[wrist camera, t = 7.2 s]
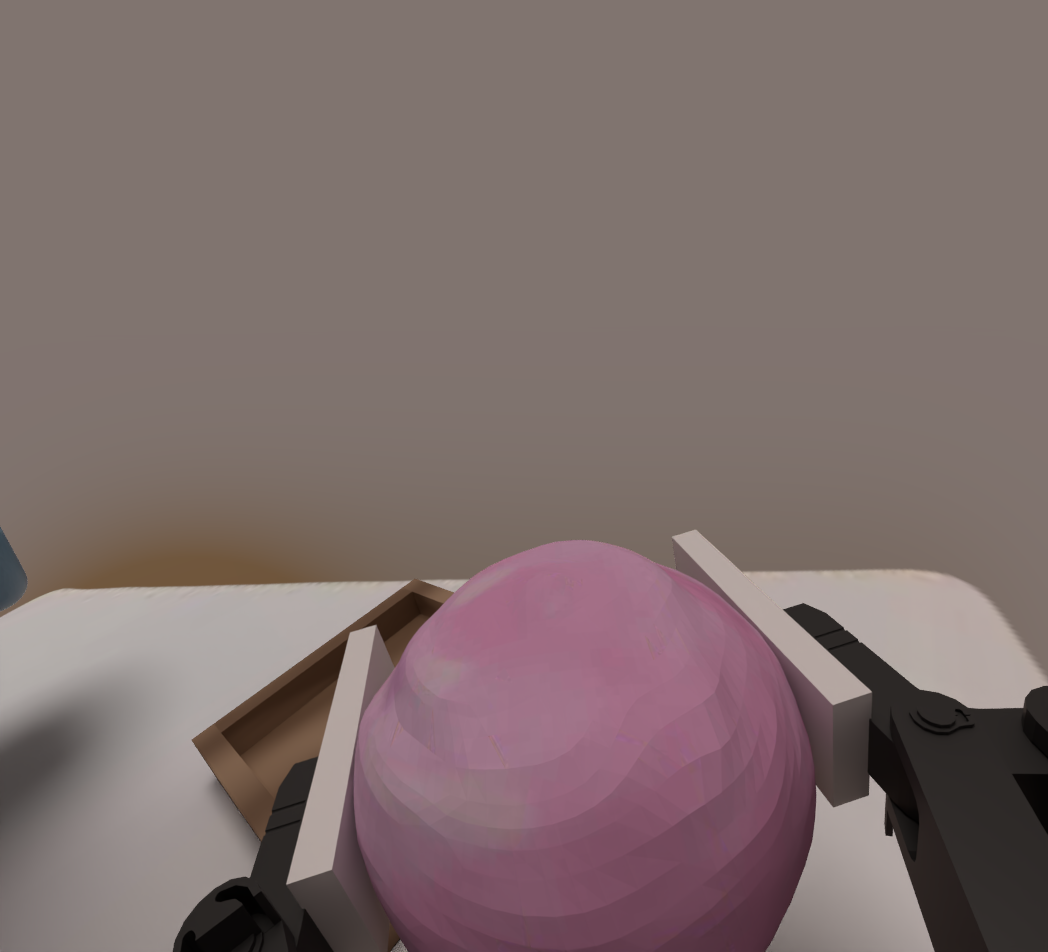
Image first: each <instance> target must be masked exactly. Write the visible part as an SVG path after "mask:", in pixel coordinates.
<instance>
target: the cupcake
mask: <svg viewBox="0 0 1048 952" xmlns="http://www.w3.org/2000/svg"><path fill="white" fill-rule="evenodd" d="M815 810H816V784H815V768H814V761H813V756H812V751H811V746H810V741H809V737H808V734H807V731H806V729H805V726H804V723H803V720H802V717H801V714H800V711H799V709H798V705H797V702H796V699H795V697H794V694H793V692H792V690H791V687H790V685H789V683H788V680H787V678H786V676H785V673H784V671H783V669H782V667H781V664H780V662H779V660H778V659H777V657H776V656H775V654H774V653H773V651H772V650H771V649H770V647H769V646H768V644H767V643H766V642H765V640H764V639H763V637H762V636H761V635H760V633H759V632H758V631H757V630H756V629H755V628H754V627H753V626H752V625H751V624H750V623H749V622H748V621H747V620H746V619H745V618H744V617H743V616H742V615H741V614H739V613H738V612H737V611H736V610H735V609H734V608H733V607H732V606H731V605H729V604H728V603H727V602H726V601H725V600H724V599H723V598H722V597H721V596H719V595H718V594H717V593H715V592H714V591H713V590H711V589H710V588H708V587H707V586H706V585H704V584H703V583H701V582H699V581H698V580H696V579H694V578H692V577H690V576H687V575H685V574H683V573H681V572H679V571H677V570H674V569H671V568H668V567H666V566H663V565H660V564H657V563H654V562H652V561H650V560H649V559H648V558H646V557H644V556H642V555H640V554H637V553H635V552H633V551H631V550H628V549H625V548H622V547H618V546H615V545H612V544H607V543H602V542H597V541H588V540H587V541H586V540H570V541H560V542H554V543H550V544H545V545H542V546H539V547H536V548H533V549H531V550H527V551H524V552H521V553H519V554H516V555H514V556H511V557H509V558H506V559H504V560H501V561H500V562H497V563H495V564H493V565H491V566H489V567H488V568H486V569H484V570H482V571H481V572H479V573H477V574H476V575H475V576H473V577H472V578H471V579H470V580H469V581H467V582H466V583H465V584H464V585H463V586H462V587H460V588H459V589H458V590H457V591H456V592H455V593H454V594H453V595H452V596H451V597H450V598H448V599H447V601H446V602H445V603H444V604H443V605H442V606H441V607H440V608H439V609H438V610H437V611H436V612H435V613H434V614H433V615H432V616H431V617H430V618H429V619H428V620H427V621H426V622H425V623H424V624H423V625H422V626H421V627H420V628H419V630H418V631H417V632H416V633H415V634H414V636H413V637H412V639H411V640H410V642H409V643H408V645H407V647H406V649H405V650H404V652H403V654H402V656H401V659H400V661H399V663H398V664H397V666H396V667H395V669H394V670H393V671H392V673H391V674H390V676H389V677H388V679H387V680H386V681H385V683H384V684H383V685H382V686H381V688H380V689H379V690H378V692H377V693H376V694H375V696H374V697H373V699H372V701H371V702H370V704H369V706H368V707H367V709H366V711H365V712H364V715H363V718H362V721H361V724H360V727H359V734H358V740H357V745H356V752H355V766H354V812H355V823H356V832H357V841H358V844H359V847H360V850H361V853H362V856H363V859H364V862H365V866H366V869H367V872H368V874H369V877H370V880H371V882H372V885H373V888H374V890H375V893H376V896H377V898H378V899H379V901H380V903H381V905H382V907H383V909H384V911H385V913H386V915H387V917H388V919H389V920H390V922H391V924H392V926H393V928H394V929H395V931H396V933H397V934H398V936H399V937H400V939H401V941H402V942H403V944H404V946H405V947H406V949H407V951H408V952H765V951H766V950H767V948H768V946H769V945H770V943H771V941H772V940H773V938H774V936H775V933H776V931H777V929H778V927H779V925H780V923H781V921H782V919H783V917H784V915H785V913H786V911H787V909H788V907H789V905H790V903H791V901H792V898H793V895H794V893H795V890H796V888H797V885H798V882H799V880H800V877H801V875H802V872H803V869H804V867H805V864H806V860H807V857H808V853H809V850H810V847H811V843H812V838H813V830H814V822H815Z"/></svg>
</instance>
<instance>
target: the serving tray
mask: <svg viewBox="0 0 1048 952" xmlns="http://www.w3.org/2000/svg"><path fill="white" fill-rule="evenodd" d="M453 594H454V592H451V591H448V590H445V589H442V588H440V587H437V586H434V585H431V584H428V583H426V582H423V581H420V580H417V579H414V580H413V581H411V582H410V583H408V584H407V585H406V586H404V587H403V588H401V589H400V590H399V591H397V592H396V593H395V594H393V595H392V596H390V597H389V598H388V599H386V600H385V601H383V602H382V603H381V604H379V605H378V606H377V607H375V608H374V609H372V610H371V611H370V612H368V613H367V614H365V615H364V616H363V617H361V618H360V619H358V620H357V621H356V622H354V623H353V624H352V625H350V626H349V627H347V628H346V629H345V630H343V631H342V632H340V633H339V634H338V635H336V636H335V637H334V638H332V639H331V640H329V641H328V642H327V643H325V644H324V645H322V646H321V647H320V648H318V649H317V650H316V651H314V652H313V653H311V654H310V655H309V656H307V657H306V658H304V659H303V660H302V661H300V662H299V663H297V664H296V665H295V666H293V667H292V668H291V669H289V670H288V671H286V672H285V673H284V674H282V675H281V676H279V677H278V678H277V679H275V680H274V681H273V682H271V683H270V684H268V685H267V686H266V687H264V688H263V689H261V690H260V691H259V692H257V693H256V694H255V695H253V696H252V697H250V698H249V699H248V700H246V701H245V702H243V703H242V704H241V705H239V706H238V707H236V708H235V709H234V710H232V711H231V712H230V713H228V714H227V715H225V716H224V717H223V718H221V719H220V720H218V721H217V722H216V723H214V724H213V725H212V726H210V727H209V728H207V729H206V730H205V731H203V732H202V733H200V734H199V735H198V736H196V737H195V738H193V739H192V742H193V743H194V745H195V746H196V748H197V749H198V751H199V752H200V754H201V755H202V757H203V758H204V760H205V761H206V763H207V764H208V766H209V767H210V769H211V770H212V772H213V773H214V775H215V776H216V778H217V779H218V781H219V782H220V783H221V785H222V786H223V788H224V789H225V791H226V792H227V794H228V795H229V796H230V798H231V799H232V801H233V802H234V804H235V805H236V807H237V808H238V809H239V811H240V812H241V814H242V815H243V817H244V818H245V820H246V821H247V822H248V824H249V825H250V827H251V828H252V830H253V831H254V833H255V834H256V835H257V837H258V838H259V840H260V841H261V842H262V839H263V836H265V834H266V832H265V829H266V826H267V823H268V820H269V817H270V815H272V811H271V810H272V807H273V804H274V801H275V798H276V795H277V792H278V788H279V786H280V785H281V783H282V782H283V780H284V779H285V777H286V776H287V774H288V773H289V771H290V770H291V768H292V767H293V765H294V764H295V763H299V762H302V761H305V760H308V759H311V758H315V757H318V756H319V753H320V749H321V745H322V741H323V737H324V733H325V729H326V725H327V721H328V717H329V714H330V710H331V706H332V702H333V698H334V694H335V690H336V686H337V682H338V678H339V674H340V670H341V666H342V662H343V658H344V654H345V650H346V646H347V642H348V638H349V635H350V632H353V631H357V630H360V629H363V628H367V627H370V626H374V625H377V628H378V630H379V632H380V635H381V637H382V639H383V642H384V644H385V647H386V649H387V651H388V654H389V656H390V658H391V661H392V663H393V665H394V668H395V667H396V666H397V664H398V663H399V661H400V659H401V656H402V654H403V652H404V650H405V649H406V647H407V645H408V643H409V642H410V640H411V639H412V637H413V636H414V634H415V633H416V632H417V631H418V630H419V628H420V627H421V626H422V625H423V624H424V623H425V622H426V621H427V620H428V619H429V618H430V617H431V616H432V615H433V614H434V613H435V612H436V611H437V610H438V609H439V608H440V607H441V606H442V605H443V604H444V603H445V602H446V601H447V599H448V598H450V597H451V596H452V595H453ZM399 939H400V937H399V936H398V934H397V933H396V931H395V929H394V928H393V926H392V924H391V922H390V924H389V938H388V951H387V952H390V951H391V949H392V948H393V947H394V946H395V944H396V943H397V942H398V940H399Z"/></svg>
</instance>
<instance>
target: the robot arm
mask: <svg viewBox="0 0 1048 952" xmlns="http://www.w3.org/2000/svg"><path fill="white" fill-rule="evenodd" d="M672 542H673V549H674V556H675V563H676V570H677V571H679V572H681V573H683V574H685V575H687V576H690V577H692V578H694V579H696V580H698V581H699V582H701V583H703V584H704V585H706V586H707V587H708V588H710V589H711V590H713V591H714V592H715V593H717V594H718V595H719V596H721V597H722V598H723V599H724V600H725V601H726V602H727V603H728V604H729V605H731V606H732V607H733V608H734V609H735V610H736V611H737V612H738V613H739V614H741V615H742V616H743V617H744V618H745V619H746V620H747V621H748V622H749V623H750V624H751V625H752V626H753V627H754V628H755V629H756V630H757V631H758V632H759V633H760V635H761V636H762V637H763V639H764V640H765V642H766V643H767V644H768V646H769V647H770V649H771V650H772V651H773V653H774V654H775V656H776V657H777V659H778V660H779V662H780V664H781V667H782V669H783V671H784V673H785V676H786V678H787V680H788V683H789V685H790V687H791V690H792V692H793V694H794V697H795V699H796V702H797V705H798V709H799V711H800V714H801V717H802V720H803V723H804V726H805V729H806V731H807V734H808V737H809V741H810V746H811V751H812V756H813V761H814V768H815V784H816V785H817V787H818V788H819V789H820V791H821V792H822V793H823V795H824V796H825V797H826V799H827V800H828V801H829V802H830V804H831V805H832V806H833V807H836V806H839V805H842V804H845V803H848V802H851V801H854V800H856V799H859V798H862V797H865V796H868V795H869V775H870V776H871V777H872V778H873V779H874V780H875V781H876V782H877V784H878V785H879V786H880V787H881V788H882V789H883V790H884V791H885V792H886V804H885V823H884V824H885V834H886V836H892V835H893V829H894V832H895V835H896V838H897V841H898V844H899V847H900V850H901V853H902V856H903V859H904V862H905V865H906V868H907V871H908V874H909V876H910V879H911V882H912V885H913V888H914V891H915V894H916V897H917V900H918V903H919V906H920V909H921V912H922V915H923V918H924V921H925V924H926V927H927V930H928V933H929V936H930V939H931V942H932V945H933V948H934V951H935V952H1048V686H1043V687H1040V688H1036V689H1033V690H1031V691H1030V693H1029V694H1028V695H1027V696H1026V698H1025V702H1024V708H1003V709H974V708H967V707H966V706H964V705H963V704H961V703H960V702H958V701H957V700H955V699H953V698H950V697H948V696H945V695H943V694H940V693H936V692H930V691H924V690H919V689H918V688H916V687H915V686H914V685H912V684H911V683H910V682H909V681H908V680H906V679H905V678H904V677H903V676H902V675H900V674H899V673H898V672H897V671H896V670H894V669H893V668H892V667H891V666H889V665H888V664H887V663H886V662H885V661H883V660H882V659H881V658H880V657H879V656H877V655H876V654H875V653H874V652H873V651H871V650H870V649H869V648H868V647H866V646H865V645H864V644H863V643H862V642H861V643H859V641H858V639H857V638H856V637H854V636H853V635H852V634H851V633H850V632H848V631H847V630H846V631H845V630H844V627H842V626H841V625H840V624H839V623H837V622H836V621H835V620H834V619H833V618H831V617H830V616H829V615H828V614H827V613H825V612H822V611H820V610H818V609H815V608H813V607H811V606H809V605H806V604H804V603H803V604H799V605H796V606H793V607H790V608H787V609H783V610H782V609H781V608H780V607H779V606H778V605H777V604H776V603H775V602H774V601H773V600H772V599H770V598H769V597H768V596H767V595H766V594H765V593H764V592H763V591H762V590H761V589H760V588H759V587H757V586H756V585H755V584H754V583H753V582H752V581H751V580H750V579H749V578H748V577H747V576H746V575H744V574H743V573H742V572H741V571H740V570H739V569H738V568H737V567H736V566H735V565H734V564H732V563H731V562H730V561H729V560H728V559H727V558H726V557H725V556H724V555H723V554H722V553H721V552H719V551H718V550H717V549H716V548H715V547H714V546H713V545H712V544H711V543H709V541H707V540H706V539H705V538H704V537H703V536H702V535H701V534H700V533H699V532H698V531H697V530H693V531H690V532H686V533H683V534H680V535H676V536H673V537H672ZM26 588H27V576H26V573H25V572H24V570H23V568H22V566H21V564H20V562H19V560H18V558H17V556H16V555H15V553H14V551H13V549H12V547H11V545H10V544H9V542H8V540H7V538H6V537H5V535H4V533H3V531H2V529H1V527H0V611H2V610H4V609H6V608H8V607H10V606H12V605H13V604H15V603H16V602H17V601H18V600H19V599H20V598H21V597H22V596H23V594H24V593H25V590H26ZM394 669H395V668H394V665H393V663H392V661H391V658H390V656H389V654H388V651H387V649H386V647H385V644H384V642H383V639H382V637H381V635H380V632H379V630H378V628H377V625H374V626H370V627H367V628H363V629H360V630H357V631H353V632H350V635H349V638H348V642H347V646H346V650H345V654H344V658H343V662H342V666H341V670H340V674H339V678H338V682H337V686H336V690H335V694H334V698H333V702H332V706H331V710H330V714H329V717H328V721H327V725H326V729H325V733H324V737H323V741H322V745H321V749H320V753H319V756H318V757H315V758H311V759H308V760H305V761H302V762H299V763H295V764H294V765H293V767H292V768H291V770H290V771H289V773H288V774H287V776H286V777H285V779H284V780H283V782H282V783H281V785H280V786H279V788H278V792H277V795H276V798H275V801H274V804H273V807H272V810H271V811H272V815H270V817H269V820H268V823H267V826H266V829H265V832H266V834H265V836H263V839H262V842H261V845H260V848H259V851H258V855H257V858H256V861H255V864H254V867H253V870H252V873H251V877H250V878H248V877H241V878H236V879H231V880H229V881H227V882H226V883H224V884H222V885H220V886H218V887H217V888H215V889H214V890H213V891H211V892H210V893H209V894H208V895H207V896H206V897H205V898H204V899H202V900H201V901H200V902H199V903H198V904H197V906H196V907H195V908H194V910H193V911H192V912H191V913H190V915H189V916H188V917H187V919H186V920H185V921H184V923H183V925H182V927H181V929H180V931H179V933H178V935H177V937H176V939H175V943H174V948H173V952H387V951H388V938H389V924H390V920H389V919H388V917H387V915H386V913H385V911H384V909H383V907H382V905H381V903H380V901H379V899H378V898H377V896H376V893H375V890H374V888H373V885H372V882H371V880H370V877H369V874H368V872H367V869H366V866H365V862H364V859H363V856H362V853H361V850H360V847H359V844H358V841H357V832H356V823H355V812H354V766H355V752H356V745H357V740H358V734H359V727H360V724H361V721H362V718H363V715H364V712H365V711H366V709H367V707H368V706H369V704H370V702H371V701H372V699H373V697H374V696H375V694H376V693H377V692H378V690H379V689H380V688H381V686H382V685H383V684H384V683H385V681H386V680H387V679H388V677H389V676H390V674H391V673H392V671H393V670H394Z"/></svg>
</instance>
